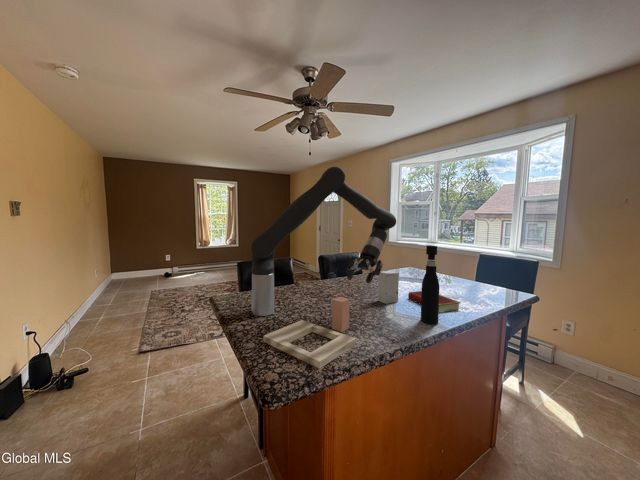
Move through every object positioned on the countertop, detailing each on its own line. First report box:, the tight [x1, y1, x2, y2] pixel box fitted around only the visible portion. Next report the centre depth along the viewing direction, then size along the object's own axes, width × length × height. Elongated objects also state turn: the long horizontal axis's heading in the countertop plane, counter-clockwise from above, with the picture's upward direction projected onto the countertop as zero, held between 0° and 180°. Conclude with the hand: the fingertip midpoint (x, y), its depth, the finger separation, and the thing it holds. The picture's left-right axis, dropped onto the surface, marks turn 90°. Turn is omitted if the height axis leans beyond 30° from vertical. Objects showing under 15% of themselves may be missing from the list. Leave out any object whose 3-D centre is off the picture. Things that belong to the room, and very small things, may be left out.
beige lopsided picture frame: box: [263, 319, 357, 370], centre depth 83 cm, size 24×18×2 cm
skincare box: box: [377, 270, 400, 305], centre depth 127 cm, size 8×6×15 cm
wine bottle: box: [420, 245, 440, 326], centre depth 101 cm, size 6×6×30 cm
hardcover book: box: [407, 290, 461, 313], centre depth 124 cm, size 12×21×4 cm, turn 17°
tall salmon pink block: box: [331, 296, 350, 333], centre depth 95 cm, size 5×5×11 cm
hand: (357, 280), depth 103 cm, fingers open, 8 cm apart
